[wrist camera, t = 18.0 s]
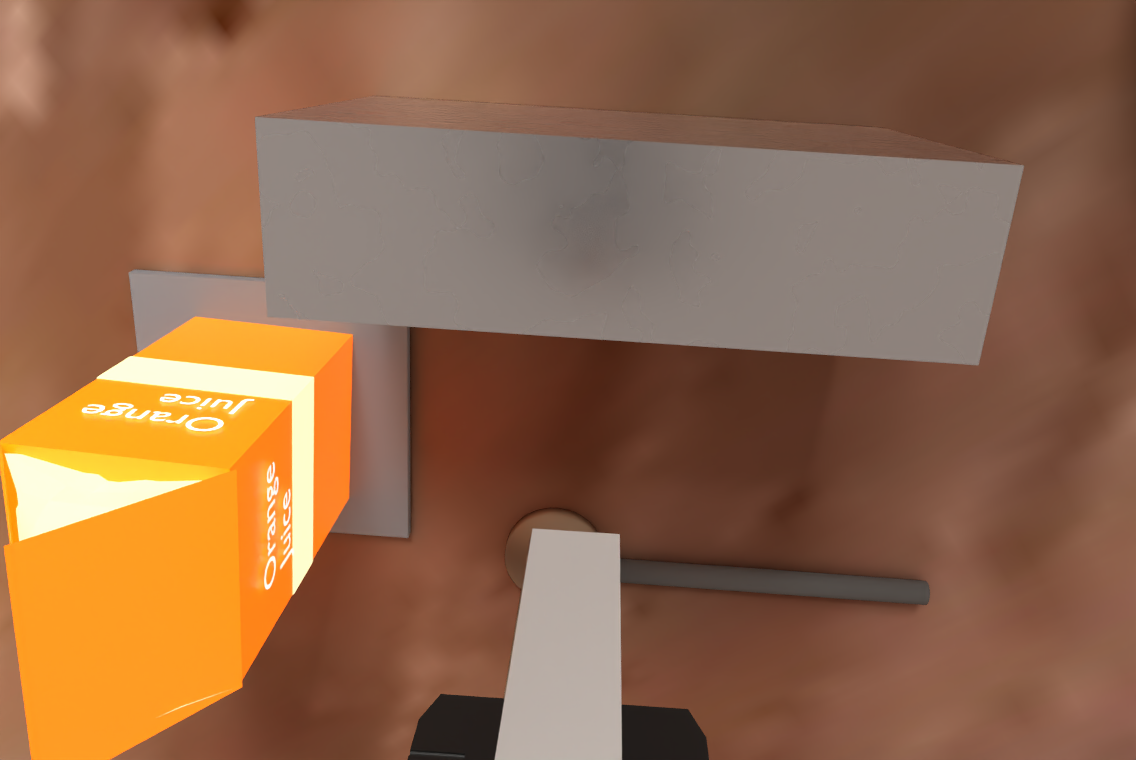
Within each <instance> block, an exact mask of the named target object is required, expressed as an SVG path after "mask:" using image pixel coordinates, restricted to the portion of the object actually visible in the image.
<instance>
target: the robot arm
mask: <svg viewBox="0 0 1136 760" xmlns="http://www.w3.org/2000/svg"><path fill="white" fill-rule="evenodd" d="M408 760H709V756H708V748H707V740H706V737H705V735H704V733H703V732H702V730H701V729H700V727H699V726H698V724H697V723H696V721H695V719H694V718H693V716H692V715H691V713H690V712H689V710H688V709H676V708H662V707H648V706H634V705H621V607H620V534H609V533H594V532H579V531H564V530H548V529H532V535H531V541H530V547H529V553H528V559H527V565H526V571H525V578H524V584H523V590H522V596H521V602H520V608H519V614H518V620H517V626H516V632H515V639H514V645H513V651H512V657H511V663H510V669H509V675H508V681H507V687H506V693H505V699H502V698H488V697H474V696H460V695H446V694H440V696H439V697H438V698H437V699H436V700H435V701H434V703H433V704H432V705H431V706H430V707H429V708H428V709H427V711H426V712H425V713H424V714H423V715H422V716H421V718H420V719H419V721H418V725H417V728H416V732H415V735H414V739H413V742H412V746H411V749H410V755H409V756H408Z"/></svg>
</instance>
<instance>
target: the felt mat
mask: <svg viewBox="0 0 1136 760" xmlns="http://www.w3.org/2000/svg"><path fill="white" fill-rule="evenodd" d="M129 279H130V287H131V296H132V305H133V314H134V322H135V331H136V340H137V349H138V353H139V352H140V351H142V350H144V349H145V348H147V347H148V346H150V345H151V344H153V343H155V342H156V341H158V340H159V339H161V338H163V337H164V336H166V335H167V334H169V333H170V332H172V331H174V330H175V329H177V328H178V327H180V326H181V325H183V324H185V323H186V322H188V321H189V320H191V319H192V318H194V317H202V318H211V319H220V320H229V321H238V322H246V323H255V324H264V325H273V326H282V327H291V328H299V329H308V330H317V331H326V332H335V333H343V334H352V335H353V344H352V389H351V433H350V478H349V499H348V501H347V502H346V504H345V506H344V507H343V509H342V511H341V512H340V514H339V516H338V518H337V519H336V521H335V523H334V524H333V526H332V528H331V530H330V531H329V532H334V533H347V534H361V535H375V536H389V537H402V538H408V537H409V534H410V532H411V527H410V327H408V326H393V325H378V324H363V323H349V322H334V321H319V320H304V319H290V318H275V317H267V307H266V290H265V278H254V277H239V276H224V275H209V274H194V273H179V272H164V271H149V270H133V271H131V272H129Z"/></svg>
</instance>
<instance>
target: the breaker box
mask: <svg viewBox="0 0 1136 760" xmlns="http://www.w3.org/2000/svg"><path fill="white" fill-rule="evenodd" d="M255 126H256V143H257V159H258V176H259V192H260V208H261V225H262V241H263V257H264V274H265V290H266V307H267V317H275V318H290V319H304V320H319V321H334V322H349V323H363V324H378V325H393V326H408V327H422V328H437V329H452V330H467V331H481V332H496V333H511V334H525V335H540V336H555V337H570V338H584V339H599V340H614V341H629V342H643V343H658V344H673V345H688V346H702V347H717V348H732V349H747V350H761V351H776V352H791V353H806V354H820V355H835V356H850V357H865V358H879V359H894V360H909V361H924V362H938V363H953V364H968V365H979V361H980V357H981V352H982V348H983V343H984V339H985V335H986V330H987V326H988V322H989V317H990V313H991V308H992V304H993V300H994V295H995V291H996V287H997V282H998V278H999V273H1000V269H1001V265H1002V260H1003V256H1004V252H1005V247H1006V243H1007V238H1008V234H1009V230H1010V225H1011V221H1012V217H1013V212H1014V208H1015V203H1016V199H1017V195H1018V190H1019V186H1020V182H1021V177H1022V173H1023V168H1024V165H1021V164H1017V163H1013V162H1009V161H1006V160H1002V159H998V158H995V157H991V156H987V155H983V154H980V153H976V152H972V151H968V150H965V149H961V148H957V147H953V146H950V145H946V144H942V143H939V142H935V141H931V140H927V139H924V138H920V137H916V136H912V135H909V134H905V133H901V132H897V131H894V130H890V129H886V128H883V127H867V126H851V125H835V124H819V123H803V122H787V121H771V120H755V119H739V118H723V117H707V116H691V115H675V114H659V113H643V112H627V111H611V110H595V109H579V108H563V107H547V106H531V105H515V104H499V103H483V102H467V101H451V100H435V99H419V98H403V97H387V96H370V97H365V98H359V99H353V100H348V101H342V102H336V103H331V104H325V105H319V106H314V107H308V108H302V109H297V110H291V111H285V112H280V113H274V114H268V115H263V116H257V117H255Z"/></svg>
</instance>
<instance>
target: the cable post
mask: <svg viewBox="0 0 1136 760" xmlns="http://www.w3.org/2000/svg"><path fill="white" fill-rule="evenodd" d="M532 529H548V530H564V531H579V532H594V533H598V532H597V531H596V529H595V528H594V527H593V525H592V524H591V523H590V522H589V521H588V520H586V519H585V518H584V517H582V516H581V515H579V514H577V513H575V512H572V511H569V510H565V509H560V508H546V509H541V510H537V511H534V512H532V513H530V514H528V515H526V516H524V517H523V518H522V519H520V520H519V521H518V522H517V523H516V525H515V526H514V527H513V529H512V530H511V532H510V534H509V536H508V540H507V544H506V549H505V565H506V568H507V571H508V574H509V576H510V577H511V579H512V580H513V582H514V583H515V584H516V585H517V586H518V587H519V588H520V589H521V594H520V601H519V607H518V613H517V619H516V625H515V631H514V637H513V643H512V649H511V655H510V661H509V668H508V674H507V680H506V686H505V692H504V698H503V699H505V693H506V687H507V681H508V675H509V669H510V663H511V657H512V651H513V645H514V639H515V632H516V626H517V620H518V614H519V608H520V602H521V596H522V590H523V584H524V578H525V571H526V565H527V559H528V553H529V547H530V541H531V535H532Z"/></svg>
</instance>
